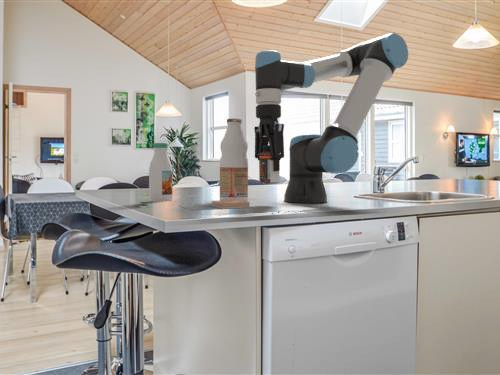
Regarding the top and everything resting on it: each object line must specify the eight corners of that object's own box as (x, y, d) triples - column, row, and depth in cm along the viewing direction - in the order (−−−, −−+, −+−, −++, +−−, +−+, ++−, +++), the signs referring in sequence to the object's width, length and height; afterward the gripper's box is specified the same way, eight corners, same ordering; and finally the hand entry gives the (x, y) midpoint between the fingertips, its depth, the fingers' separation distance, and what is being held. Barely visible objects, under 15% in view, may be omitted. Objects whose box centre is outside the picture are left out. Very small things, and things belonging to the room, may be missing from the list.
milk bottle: (153, 203, 144) (153, 142, 143) (146, 202, 150) (145, 143, 149) (175, 203, 148) (175, 143, 147) (167, 201, 154) (167, 143, 153)
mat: (233, 206, 136) (233, 203, 136) (253, 211, 125) (253, 207, 125) (177, 209, 128) (177, 205, 128) (193, 214, 116) (193, 210, 116)
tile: (236, 199, 132) (249, 202, 125) (236, 205, 132) (249, 207, 125) (212, 200, 128) (223, 203, 121) (212, 206, 128) (223, 208, 121)
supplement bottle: (256, 182, 135) (256, 145, 135) (274, 182, 138) (273, 145, 137) (265, 183, 130) (264, 145, 129) (282, 182, 132) (282, 145, 132)
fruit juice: (216, 204, 144) (216, 117, 142) (224, 202, 153) (224, 120, 152) (244, 205, 142) (244, 117, 140) (250, 202, 151) (251, 120, 149)
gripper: (242, 107, 139) (243, 181, 140) (274, 100, 122) (274, 183, 124) (263, 108, 142) (264, 180, 144) (296, 101, 126) (297, 182, 127)
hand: (269, 181), depth 134 cm, fingers closed on supplement bottle, 6 cm apart
